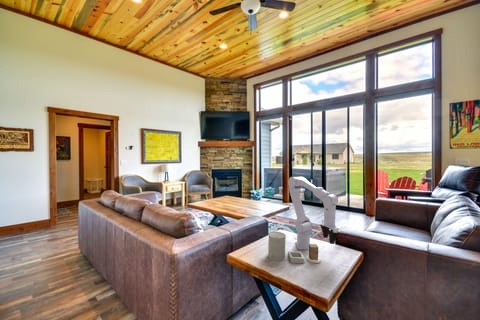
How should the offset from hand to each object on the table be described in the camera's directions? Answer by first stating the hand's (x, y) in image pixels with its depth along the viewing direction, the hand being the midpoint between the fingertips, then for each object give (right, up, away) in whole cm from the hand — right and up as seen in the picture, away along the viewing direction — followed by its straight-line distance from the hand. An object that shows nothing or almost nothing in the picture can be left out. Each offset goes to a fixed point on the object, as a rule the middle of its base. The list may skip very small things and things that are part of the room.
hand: (328, 240), depth 116 cm
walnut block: (-9, -10, 0) cm, 13 cm away
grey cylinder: (-29, -10, +2) cm, 30 cm away
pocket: (-18, -10, -1) cm, 21 cm away
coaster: (-8, -10, 0) cm, 13 cm away
